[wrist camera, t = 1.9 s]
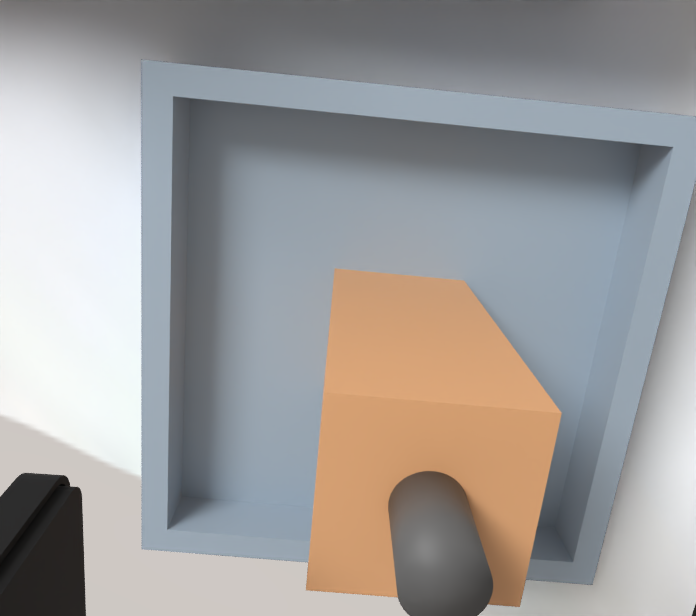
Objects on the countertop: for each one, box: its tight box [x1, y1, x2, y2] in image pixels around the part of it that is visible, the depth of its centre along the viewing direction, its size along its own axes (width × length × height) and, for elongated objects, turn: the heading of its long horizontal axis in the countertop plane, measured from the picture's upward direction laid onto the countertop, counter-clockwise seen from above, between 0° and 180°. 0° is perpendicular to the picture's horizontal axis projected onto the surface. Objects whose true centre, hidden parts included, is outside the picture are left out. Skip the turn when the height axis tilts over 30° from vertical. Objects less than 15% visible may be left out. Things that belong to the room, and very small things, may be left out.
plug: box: [306, 268, 562, 616], centre depth 14 cm, size 4×4×11 cm
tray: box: [141, 59, 696, 585], centre depth 19 cm, size 15×15×3 cm
